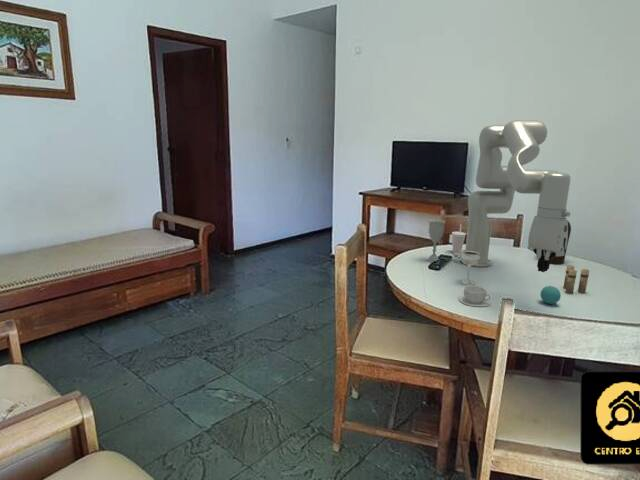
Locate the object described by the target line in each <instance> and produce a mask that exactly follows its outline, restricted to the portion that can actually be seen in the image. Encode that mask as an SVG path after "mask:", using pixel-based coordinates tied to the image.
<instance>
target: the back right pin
mask: <svg viewBox="0 0 640 480" xmlns="http://www.w3.org/2000/svg"><path fill="white" fill-rule="evenodd" d="M589 276H590V269H586V268H582V269H581V270H580V276H579V280H578V281H579V282H578V288H577V293H579V294H586V293H587V286H588V281H589Z"/></svg>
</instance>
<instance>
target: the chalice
mask: <svg viewBox="0 0 640 480" xmlns="http://www.w3.org/2000/svg"><path fill="white" fill-rule="evenodd" d="M428 223H429V225H428V234H429V238H430V240H431V242H433V245H432V248H433V249H432V255H430V256H429V257H428V259H427V262H428V263H432V262H434V261H437V260H439V261H440V259H439V257H438V255H436V252H437V243H438V242H440V240H441V238H442V236H443V235H444V231H445V229H444V228H445V224H446V221H445V220H443V219H428Z"/></svg>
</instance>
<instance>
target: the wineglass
mask: <svg viewBox="0 0 640 480" xmlns="http://www.w3.org/2000/svg"><path fill="white" fill-rule="evenodd" d="M461 252H462V255H461V258H460V260H462V262H463V263H464V265H465V264H466V266H467V279H463V280H460V283H461V284H464V285H466V286H468V285H475V281H472V280H469V278H470V271H471V267H473V266H472V265H475V264H477V263H478V262H479V260H480V256H479V254H480V252H478V251H475V250H465V249H462V251H461ZM463 263H462V264H463Z"/></svg>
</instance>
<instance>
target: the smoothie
mask: <svg viewBox="0 0 640 480" xmlns="http://www.w3.org/2000/svg"><path fill="white" fill-rule="evenodd" d="M451 236H452V237H451V239H452V240H451V241H452V242H451V243H452V253H453V254H454V253H461V252H462V250H463V247H464V242H465V238H466V237H467V232H462V223H460V225H459V231H452V232H451Z"/></svg>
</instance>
